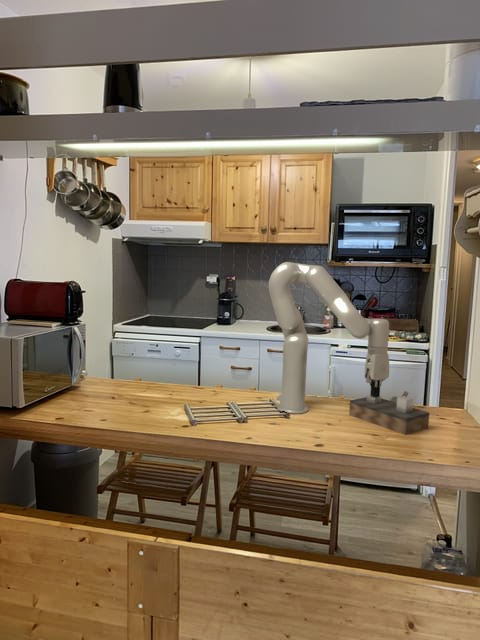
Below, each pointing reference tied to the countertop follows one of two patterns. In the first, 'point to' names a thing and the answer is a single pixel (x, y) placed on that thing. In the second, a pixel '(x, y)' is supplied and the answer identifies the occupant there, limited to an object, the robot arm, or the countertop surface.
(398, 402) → the peg
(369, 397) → the peg
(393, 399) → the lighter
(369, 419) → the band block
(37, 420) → the countertop surface
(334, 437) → the countertop surface
